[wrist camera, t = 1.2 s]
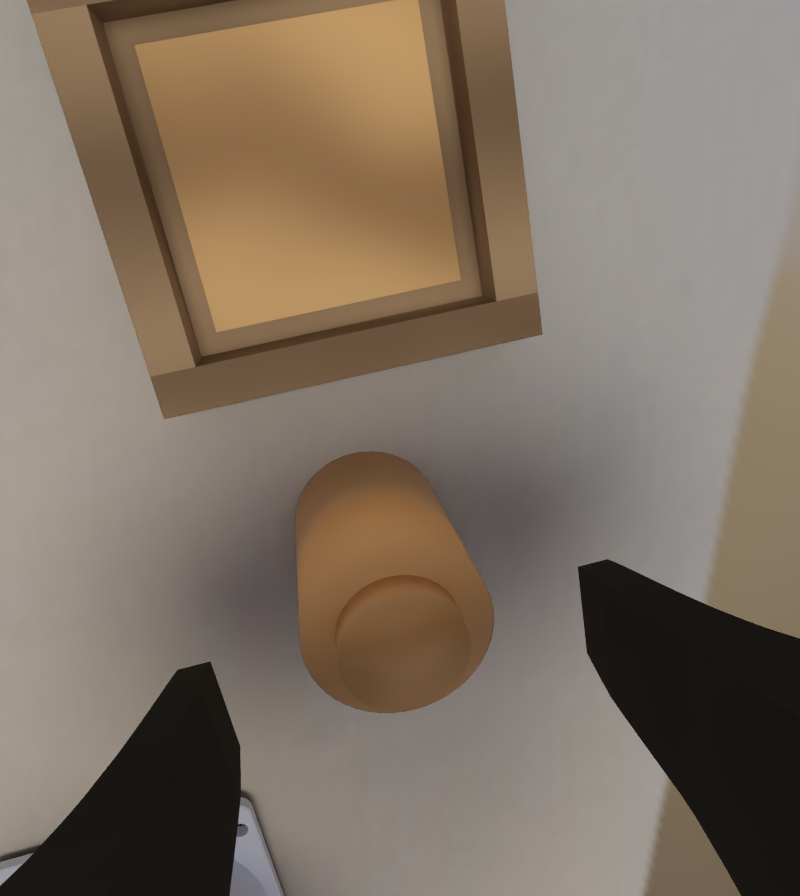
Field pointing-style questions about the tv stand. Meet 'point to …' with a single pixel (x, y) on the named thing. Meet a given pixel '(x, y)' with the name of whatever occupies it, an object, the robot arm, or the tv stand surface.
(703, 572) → the tv stand surface
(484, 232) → the tray
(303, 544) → the wooden dowel peg
